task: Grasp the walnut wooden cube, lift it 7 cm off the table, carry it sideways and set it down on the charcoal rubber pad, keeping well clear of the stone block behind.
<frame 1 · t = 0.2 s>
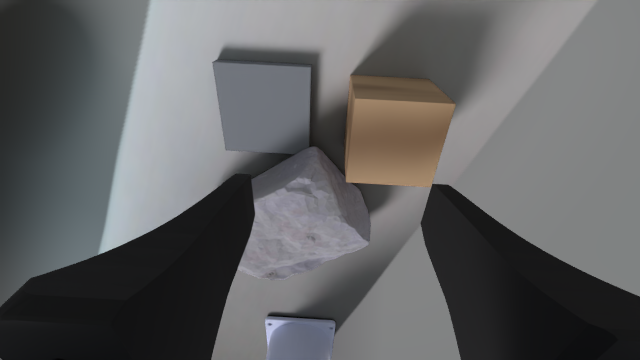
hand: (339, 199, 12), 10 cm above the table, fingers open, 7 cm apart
walnut cube: (383, 114, 20), on the table
charcoal pad: (266, 108, 20), on the table
stone block: (292, 210, 25), on the table, touching charcoal pad
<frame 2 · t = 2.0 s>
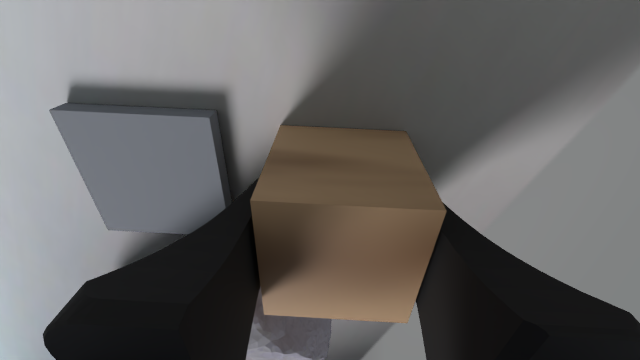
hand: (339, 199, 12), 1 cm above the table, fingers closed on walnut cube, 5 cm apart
walnut cube: (338, 180, 13), on the table, touching gripper
charcoal pad: (161, 171, 13), on the table
stone block: (226, 297, 18), on the table, touching charcoal pad
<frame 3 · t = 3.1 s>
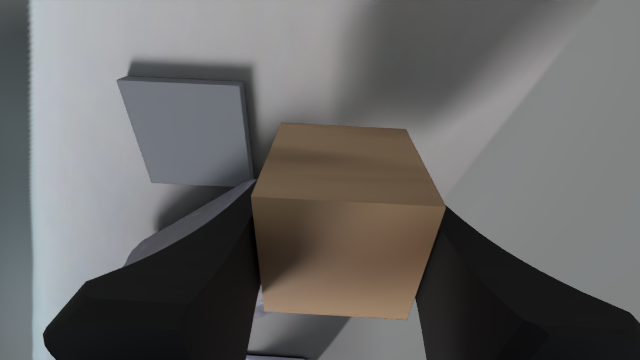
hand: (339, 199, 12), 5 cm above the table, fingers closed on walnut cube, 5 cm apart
walnut cube: (338, 178, 13), point 4 cm above the table, touching gripper
charcoal pad: (196, 133, 16), on the table
stone block: (243, 247, 21), on the table, touching charcoal pad
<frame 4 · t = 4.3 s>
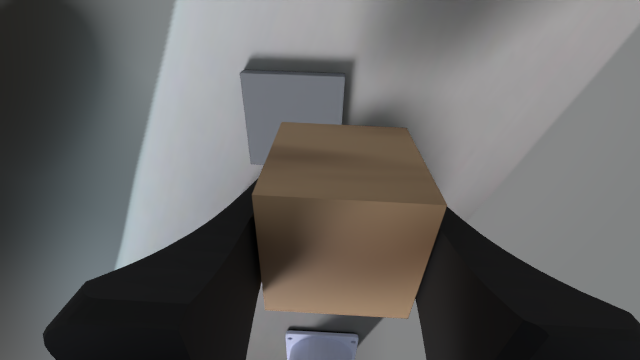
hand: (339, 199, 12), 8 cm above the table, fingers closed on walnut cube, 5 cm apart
walnut cube: (339, 177, 13), point 7 cm above the table, touching gripper
charcoal pad: (294, 119, 19), on the table
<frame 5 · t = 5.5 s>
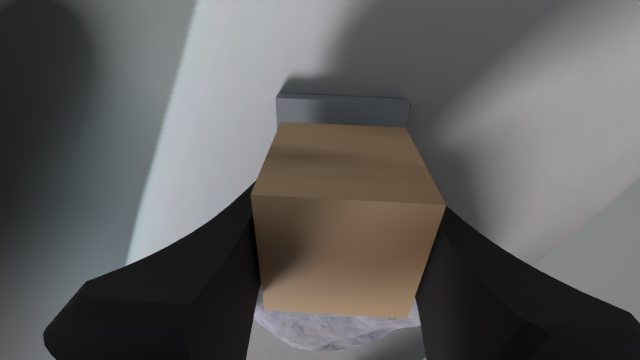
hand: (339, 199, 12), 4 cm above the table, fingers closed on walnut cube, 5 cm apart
walnut cube: (338, 177, 13), point 3 cm above the table, touching gripper
charcoal pad: (338, 152, 15), on the table
stone block: (355, 269, 20), on the table, touching charcoal pad
when the fingers open (3 cm above the table, at t = 6.6 s): walnut cube stays where it is, resting on charcoal pad, stone block.
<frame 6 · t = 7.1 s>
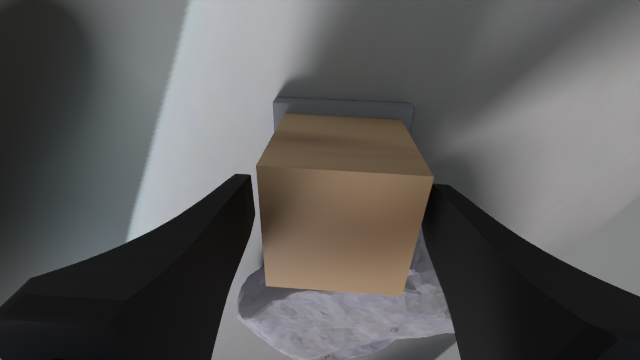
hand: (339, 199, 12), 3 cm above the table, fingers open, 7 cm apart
walnut cube: (338, 168, 14), point 1 cm above the table, touching charcoal pad, stone block
charcoal pad: (338, 159, 15), on the table
stone block: (355, 277, 19), on the table, touching charcoal pad, walnut cube
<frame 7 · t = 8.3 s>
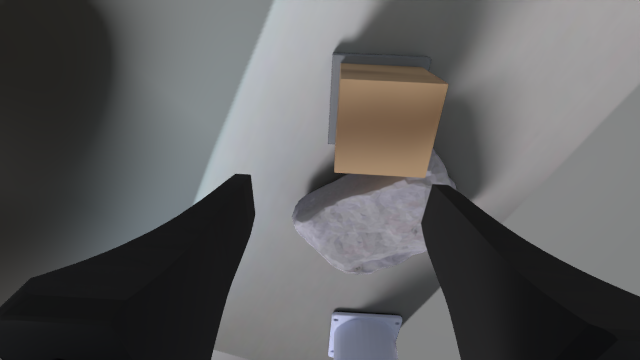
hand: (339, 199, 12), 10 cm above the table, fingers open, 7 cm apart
walnut cube: (375, 105, 19), point 1 cm above the table, touching charcoal pad, stone block
charcoal pad: (373, 101, 20), on the table
stone block: (380, 204, 25), on the table, touching charcoal pad, walnut cube
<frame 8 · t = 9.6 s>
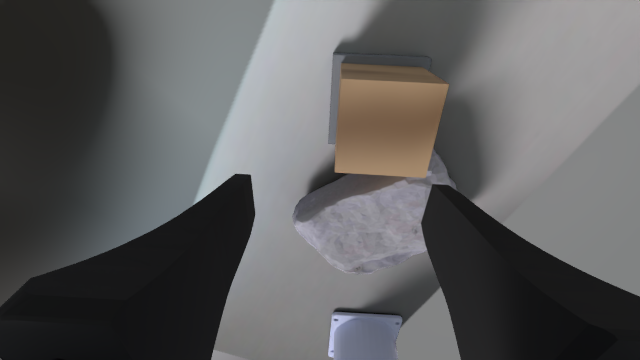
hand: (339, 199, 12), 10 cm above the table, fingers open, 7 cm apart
walnut cube: (376, 105, 19), point 1 cm above the table, touching charcoal pad, stone block
charcoal pad: (374, 101, 20), on the table
stone block: (381, 204, 25), on the table, touching charcoal pad, walnut cube
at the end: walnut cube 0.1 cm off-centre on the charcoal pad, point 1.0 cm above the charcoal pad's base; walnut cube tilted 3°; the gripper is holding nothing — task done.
